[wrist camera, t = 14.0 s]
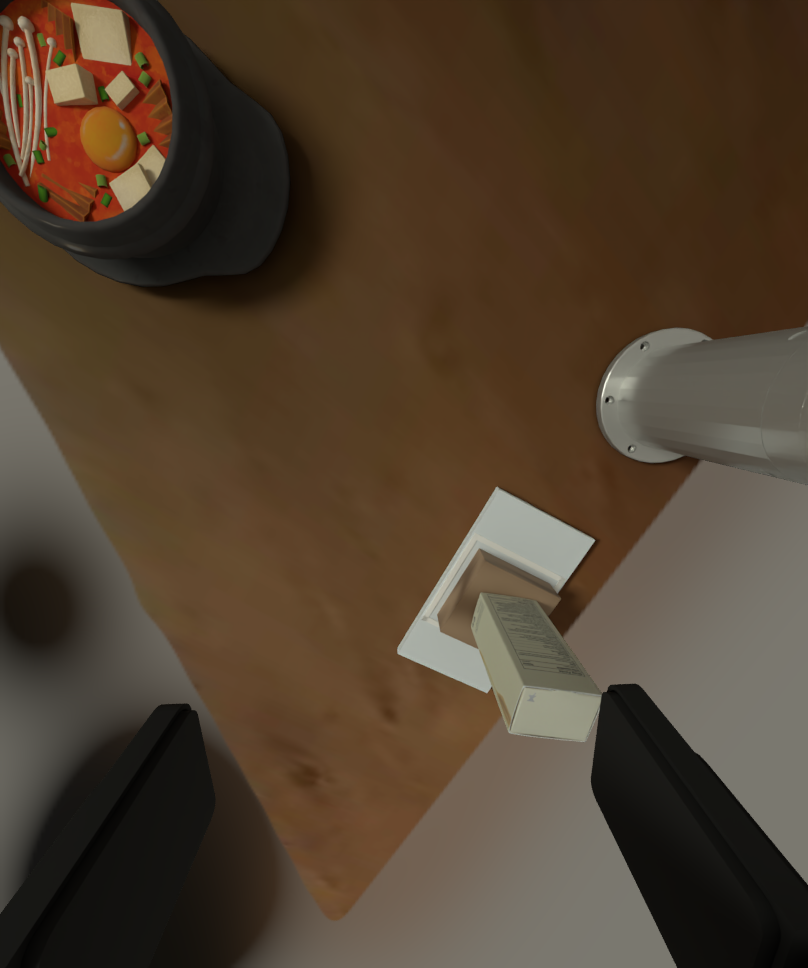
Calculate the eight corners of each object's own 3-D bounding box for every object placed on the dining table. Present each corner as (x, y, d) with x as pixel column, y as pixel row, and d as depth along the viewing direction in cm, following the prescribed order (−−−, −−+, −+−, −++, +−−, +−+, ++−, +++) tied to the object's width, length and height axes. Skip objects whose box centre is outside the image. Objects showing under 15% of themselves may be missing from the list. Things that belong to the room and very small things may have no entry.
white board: (496, 486, 39) (499, 489, 38) (590, 536, 40) (595, 540, 39) (397, 647, 43) (397, 654, 42) (485, 686, 45) (487, 693, 44)
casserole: (-14, 244, 32) (-152, 197, 24) (-14, -28, 28) (-184, -199, 20) (274, 328, 34) (237, 311, 26) (316, 89, 30) (288, -21, 22)
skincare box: (469, 627, 38) (502, 734, 26) (479, 589, 37) (519, 685, 25) (529, 636, 39) (588, 747, 27) (540, 600, 38) (607, 698, 26)
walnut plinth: (478, 548, 39) (485, 560, 36) (549, 583, 41) (561, 598, 38) (437, 614, 41) (440, 631, 38) (505, 646, 43) (513, 665, 40)
